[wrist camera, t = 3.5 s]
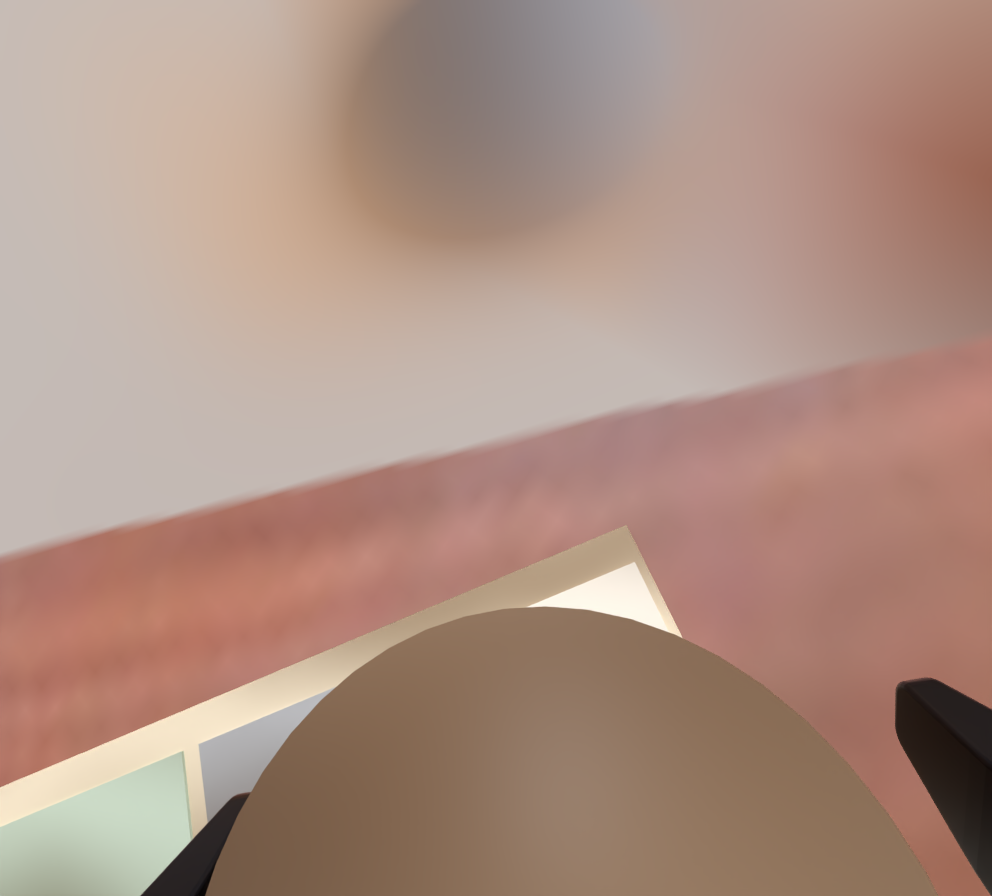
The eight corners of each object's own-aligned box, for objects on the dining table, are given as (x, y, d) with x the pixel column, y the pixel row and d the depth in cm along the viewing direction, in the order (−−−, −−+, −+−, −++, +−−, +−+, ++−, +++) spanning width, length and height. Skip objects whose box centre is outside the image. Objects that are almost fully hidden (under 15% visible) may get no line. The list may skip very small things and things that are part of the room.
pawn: (785, 870, 12) (1725, 1837, 2) (520, 978, 12) (79, 2443, 2) (652, 598, 14) (752, 394, 4) (434, 688, 14) (53, 689, 5)
